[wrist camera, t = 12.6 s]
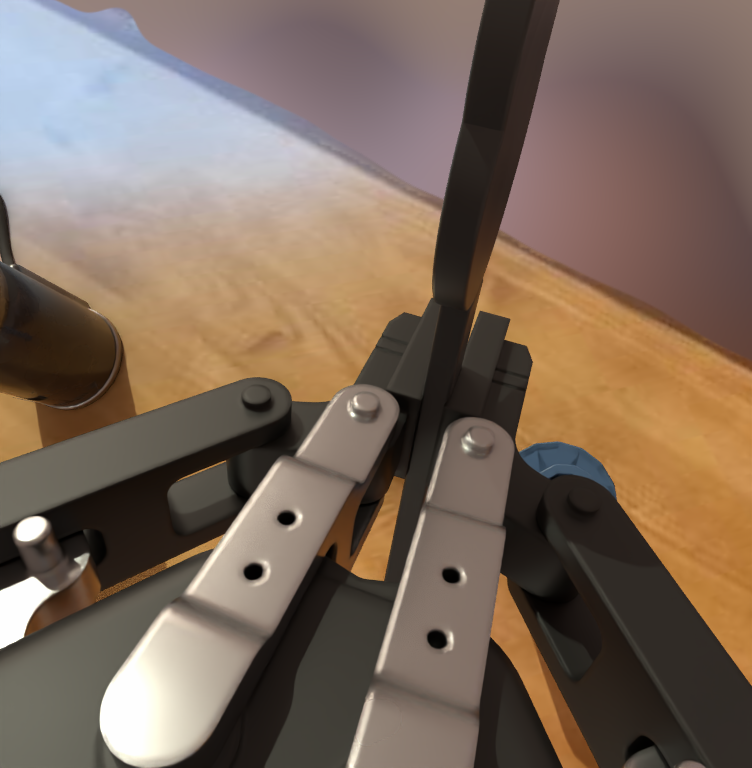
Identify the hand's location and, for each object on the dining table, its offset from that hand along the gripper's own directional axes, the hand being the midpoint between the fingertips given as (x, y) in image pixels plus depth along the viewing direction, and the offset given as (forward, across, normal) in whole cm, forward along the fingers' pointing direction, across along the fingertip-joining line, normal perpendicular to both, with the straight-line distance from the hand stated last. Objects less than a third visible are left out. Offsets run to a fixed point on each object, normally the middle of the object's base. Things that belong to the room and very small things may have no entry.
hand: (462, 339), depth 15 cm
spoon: (-3, 0, +19) cm, 19 cm away
